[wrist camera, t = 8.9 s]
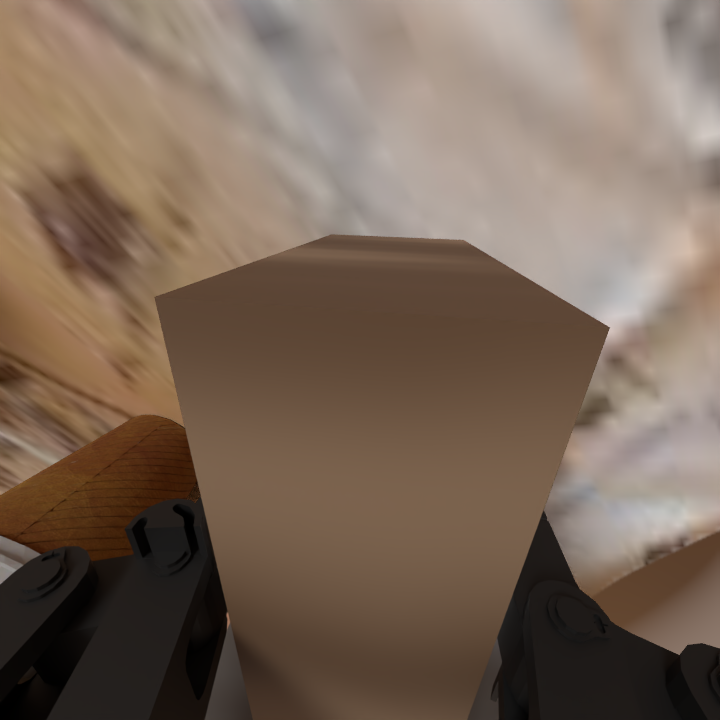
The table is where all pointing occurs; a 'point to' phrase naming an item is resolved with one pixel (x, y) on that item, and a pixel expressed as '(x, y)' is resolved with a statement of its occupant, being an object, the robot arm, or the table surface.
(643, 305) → the table surface
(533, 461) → the tan flared wedge
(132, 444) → the disposable coffee cup
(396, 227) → the table surface
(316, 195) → the table surface
